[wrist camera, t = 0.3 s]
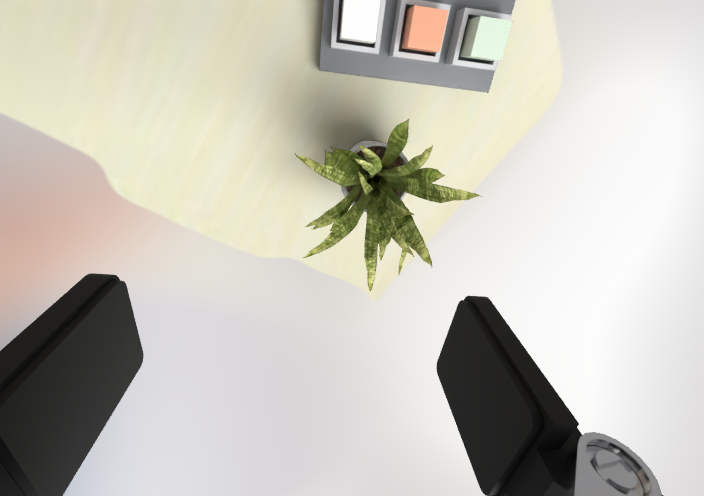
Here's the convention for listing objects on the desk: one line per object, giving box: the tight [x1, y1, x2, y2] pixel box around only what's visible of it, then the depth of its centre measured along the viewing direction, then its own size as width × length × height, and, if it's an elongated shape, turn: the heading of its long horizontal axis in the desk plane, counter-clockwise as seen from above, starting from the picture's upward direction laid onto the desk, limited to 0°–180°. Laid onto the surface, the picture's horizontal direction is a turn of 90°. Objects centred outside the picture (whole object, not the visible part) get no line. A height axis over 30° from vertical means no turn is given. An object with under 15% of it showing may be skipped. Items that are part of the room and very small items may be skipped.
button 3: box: [460, 16, 513, 61], centre depth 28 cm, size 3×3×2 cm
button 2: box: [401, 5, 449, 53], centre depth 27 cm, size 3×3×2 cm
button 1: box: [340, 0, 381, 44], centre depth 26 cm, size 3×3×2 cm
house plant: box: [294, 119, 480, 291], centre depth 30 cm, size 14×14×16 cm
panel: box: [319, 0, 515, 93], centre depth 30 cm, size 8×17×4 cm, turn 83°
